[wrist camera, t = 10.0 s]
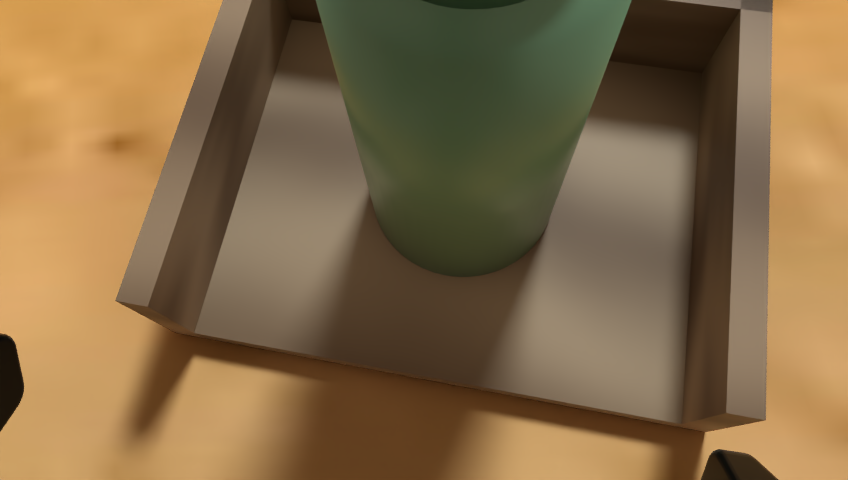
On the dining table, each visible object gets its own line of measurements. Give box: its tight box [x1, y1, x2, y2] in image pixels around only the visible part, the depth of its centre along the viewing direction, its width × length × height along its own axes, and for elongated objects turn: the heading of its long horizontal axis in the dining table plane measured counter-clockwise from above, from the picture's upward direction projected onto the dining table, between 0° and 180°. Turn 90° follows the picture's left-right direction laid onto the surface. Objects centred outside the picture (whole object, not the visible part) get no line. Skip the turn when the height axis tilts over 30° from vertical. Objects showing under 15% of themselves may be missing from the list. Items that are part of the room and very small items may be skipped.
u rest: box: [115, 0, 773, 432], centre depth 18 cm, size 12×15×4 cm
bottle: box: [316, 0, 632, 277], centre depth 13 cm, size 5×5×14 cm
